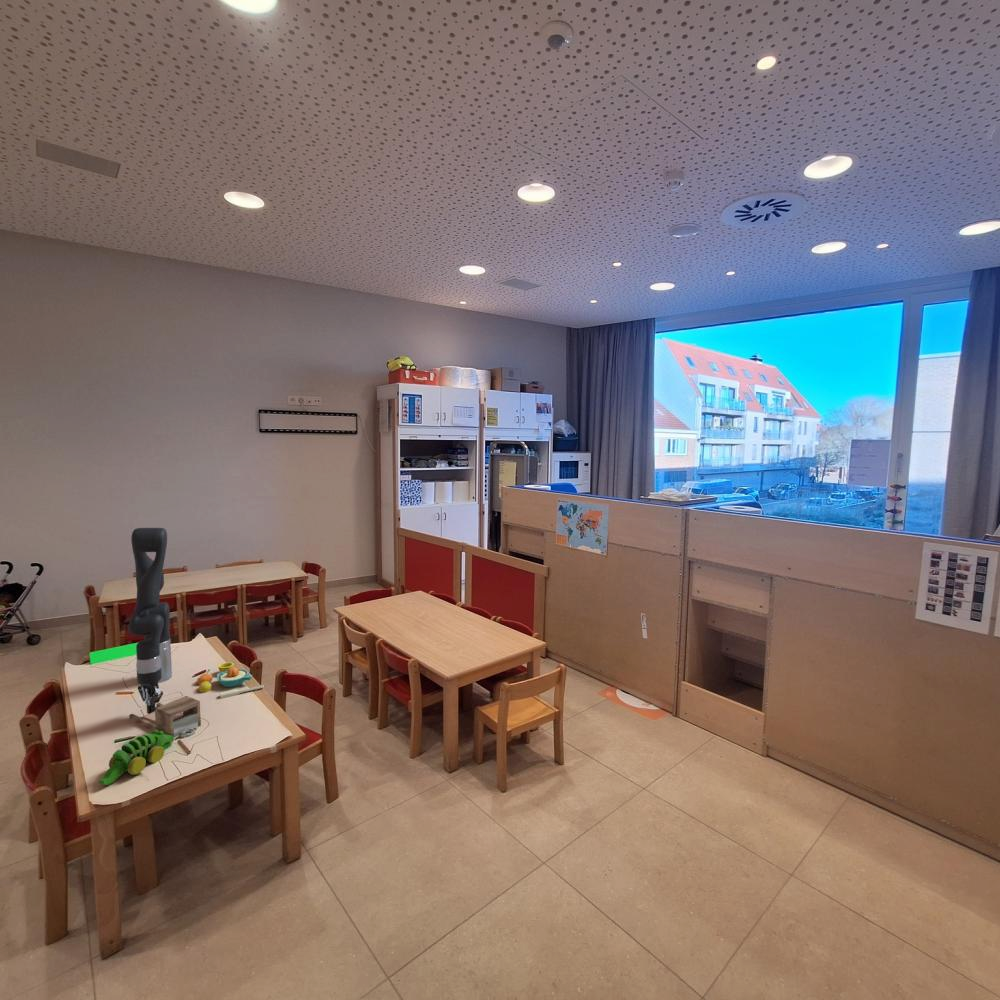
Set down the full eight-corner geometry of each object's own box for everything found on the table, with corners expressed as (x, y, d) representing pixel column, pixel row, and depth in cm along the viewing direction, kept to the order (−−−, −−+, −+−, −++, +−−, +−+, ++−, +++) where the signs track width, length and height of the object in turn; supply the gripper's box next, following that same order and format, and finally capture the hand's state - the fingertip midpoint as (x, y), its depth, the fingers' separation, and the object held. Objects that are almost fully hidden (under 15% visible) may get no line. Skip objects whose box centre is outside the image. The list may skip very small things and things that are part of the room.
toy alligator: (203, 734, 184) (202, 710, 183) (112, 791, 153) (110, 763, 152) (182, 729, 187) (181, 706, 186) (88, 784, 156) (86, 756, 155)
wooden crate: (129, 720, 192) (128, 696, 191) (159, 707, 201) (158, 684, 200) (171, 739, 180) (169, 713, 179) (200, 725, 189) (199, 701, 188)
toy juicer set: (186, 687, 219) (185, 669, 218) (229, 672, 234) (229, 655, 233) (221, 707, 203) (220, 688, 202) (265, 690, 218) (264, 672, 217)
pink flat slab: (144, 724, 190) (143, 716, 190) (163, 715, 196) (162, 707, 196) (165, 732, 185) (164, 724, 185) (184, 722, 191) (183, 715, 191)
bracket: (142, 659, 253) (140, 644, 254) (144, 657, 246) (143, 641, 247) (89, 671, 239) (88, 655, 241) (91, 668, 232) (89, 652, 234)
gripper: (128, 668, 192) (130, 713, 194) (148, 676, 186) (150, 722, 187) (149, 660, 198) (152, 704, 200) (169, 668, 192) (172, 713, 194)
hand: (151, 713), depth 194 cm, fingers closed
